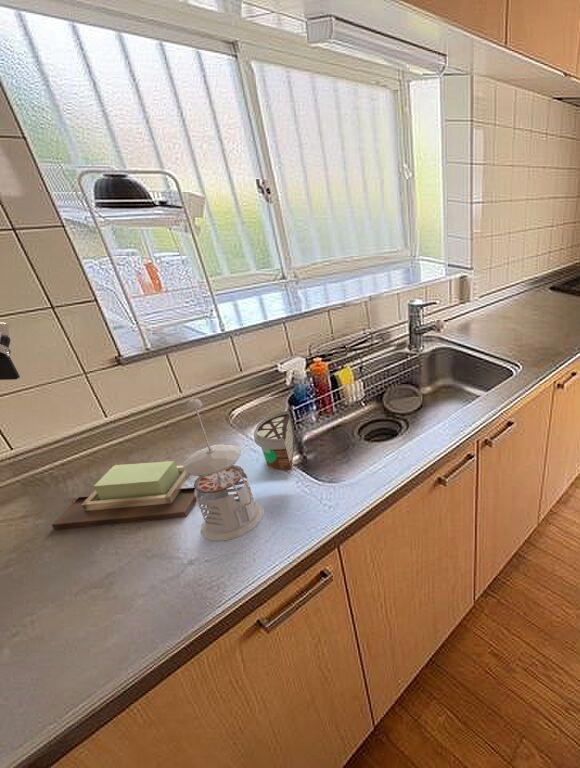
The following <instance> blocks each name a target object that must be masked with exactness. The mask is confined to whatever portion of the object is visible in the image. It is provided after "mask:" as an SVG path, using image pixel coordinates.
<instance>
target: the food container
mask: <svg viewBox="0 0 580 768" xmlns="http://www.w3.org/2000/svg"><path fill="white" fill-rule="evenodd" d="M292 425H293V424H292V421H291V413H290V411H289V409H288V410H281V411H278V412H275V413H272V414H269V415H267V416H266V417H264V418H263V419H261V420H260V421H259V422H258V423H257V424H256V425H255V429H254V433H253V435H254V436H253V437H254V438H253V439H254V443H255V444H256V445H257V446H259V447H260V449H261V451H262V454H263V457H264V460H265V462H266V465H267V466H268V467H269V468H270V469H272V470H276V471H290V470H292V468H293V467H292V466H293V458H294V452H295V444H296V440H295V434H294V430H293V426H292Z"/></svg>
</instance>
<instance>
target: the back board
mask: <svg viewBox="0 0 580 768" xmlns="http://www.w3.org/2000/svg"><path fill="white" fill-rule="evenodd" d="M176 467H177V470H178V472H179V473H180V472H181V474H180V475H179V476H178V477H177V479H176V480H175V481H174V483H173V484H172V485H171V487H170V488H169V489H168V490H169V492H168V493H167V494H166V495H157V496H146V497H134V498H123V499H111V500H100V498H99V496H98V494H97V492H96V490H95V489H94V491H93V492H92V493H90V495H89V496H80V497H78V498H76V499H75V500H74V502H72V504H71V505H70V506H68V507H67V508H66V510H64V512H63V513H61V514H60V515H59V516H58V517H57V519H55V521H53V522H52V523H51V527H52V528H53V529H54V530H63V529H75V528H84V527H95V526H105V525H114V524H115V525H116V524H125V523H137V522H146V521H147V522H148V521H157V520H167V519H177V518H186V517H187V516H188V515H189V514H190V512H191V510H192V509H193V507H194V505H195V504H196V503H197V500H196V497H195V494H194V492H195V487H185V488H181V487H182V486H183V484H184V483H185V482H186V480H187V479H188V477H189V476H190V475H191V474H188V473H186V472H185V470H184V469H183V465H176Z"/></svg>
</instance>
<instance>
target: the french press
mask: <svg viewBox="0 0 580 768" xmlns="http://www.w3.org/2000/svg"><path fill="white" fill-rule="evenodd" d="M186 406H187V408H188V410H195V414H196V415H197V419H198V421H199V424H200V427H201V430H202V431H201V432H202V433H203V436H204V439H205V442H206V447H204V448H202V449H199V450H196V451H195V452H194V453H192V454H191V455H190V456H188V457H187V459H185V461H184V462H183V469H184V470H185V472H186V473H188V474H190V475H191V476H194V477H197V478H196V479H195V480H194V482H193V488H195V492H194V494H195V497H196V500H197V501H196V503H197V504H198V507H199V509H200V513H201V515H202V518H203V520H204V521H203V522H202V524H201V527H200V534H201V535H202V536H203V537H204V538H205V539H207V540H210V541H213V542H217V541H218V542H219V541H228V540H231V539H236V538H238V537H240V536H243V535H245V534H246V533H248V532H250V531H252V530H253V529H254V528H255V527H256V526H258V524H260V522H261V521H262V518H263V517H264V513H265V512H264V507H263V506H262V505H261V504H260V503H259V502H257V501H255V499H254V495H253V493H252V489H251V486H250V482H249V479H248V475H247V473H245V472H244V469H243V467H241V466H238V465H235V464H236V463H237V461H238V460H239V459H240V457H241V456H242V450H241V449H240V448H239V446H236V445H232V444H211V445H210V443H209V440H208V437H207V433H206V431H205V427H204V425H203V421H202V420H201V415H200V413H199V410H198V409H199V408H201V407H202V406H203V402H202V401H201V400H200V399H199V398H192V399H191V400H188V401H187V403H186ZM244 478H245V479H244ZM241 485H243V486H241ZM236 486H240V487H236ZM233 492H235V493H233ZM229 493H230V494H229ZM231 493H232V494H231ZM236 497H237V498H236Z"/></svg>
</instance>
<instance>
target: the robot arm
mask: <svg viewBox="0 0 580 768" xmlns="http://www.w3.org/2000/svg"><path fill="white" fill-rule="evenodd" d="M9 332H10V331H9V325H8V323H6V322H0V381H11V380H14V381H15V380H18V379H20V378H21V376H20V374H19V372H18V370H17V368H16V366H15V364H14V362H13V360H12V358H11V356H10V355H12V349H11V348H10V347H9V346H10V345H11V338H10V336H9V335H10V333H9Z"/></svg>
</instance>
